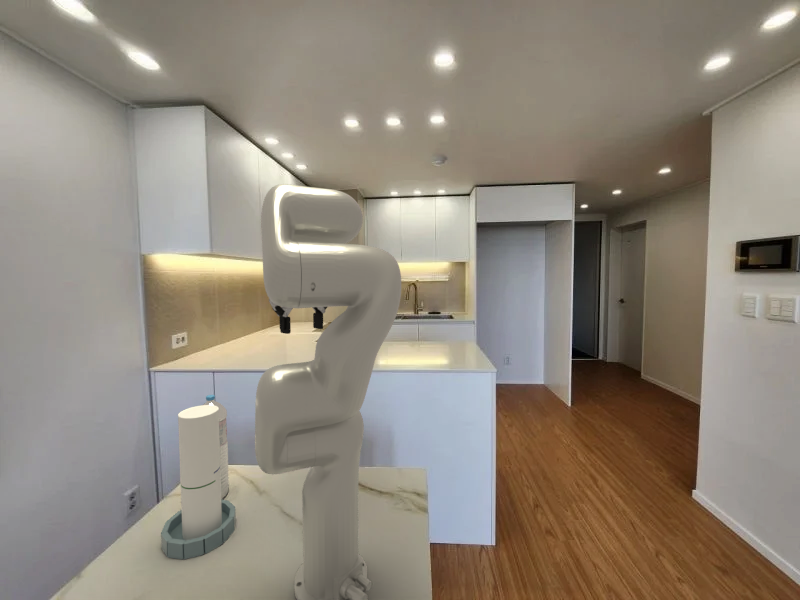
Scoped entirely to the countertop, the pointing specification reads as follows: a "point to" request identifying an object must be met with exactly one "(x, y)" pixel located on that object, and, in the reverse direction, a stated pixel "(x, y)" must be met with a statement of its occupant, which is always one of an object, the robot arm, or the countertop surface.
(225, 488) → the water bottle
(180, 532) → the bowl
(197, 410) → the cylindrical container
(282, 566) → the countertop surface
